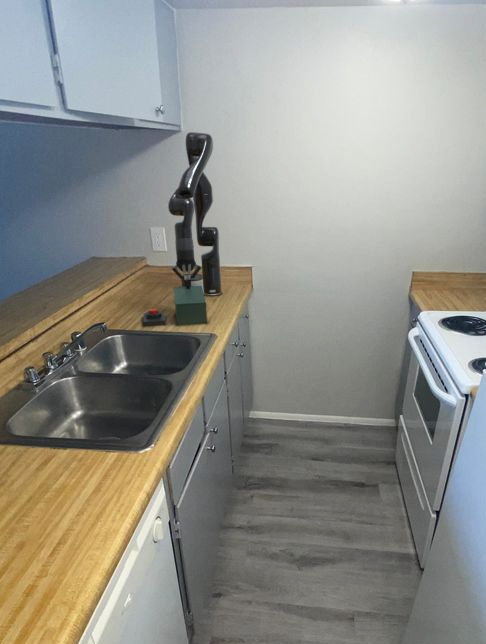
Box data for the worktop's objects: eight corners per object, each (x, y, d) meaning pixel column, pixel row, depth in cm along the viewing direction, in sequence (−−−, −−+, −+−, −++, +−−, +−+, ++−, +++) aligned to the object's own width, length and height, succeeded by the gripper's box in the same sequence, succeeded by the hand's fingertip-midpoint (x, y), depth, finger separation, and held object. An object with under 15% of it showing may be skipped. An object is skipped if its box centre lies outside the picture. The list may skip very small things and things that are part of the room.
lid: (173, 288, 211) (173, 287, 211) (201, 287, 214) (201, 285, 213) (175, 305, 199) (175, 304, 198) (205, 303, 201) (205, 302, 201)
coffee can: (179, 306, 227) (176, 277, 220) (192, 300, 235) (190, 272, 228) (195, 309, 222) (193, 280, 216) (209, 304, 230) (207, 275, 224)
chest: (176, 314, 216) (174, 295, 212) (203, 312, 219) (202, 293, 215) (177, 325, 203) (176, 305, 199) (207, 323, 206) (205, 304, 201)
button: (149, 312, 207) (148, 308, 206) (157, 312, 208) (157, 308, 207) (149, 315, 204) (148, 311, 203) (157, 314, 205) (157, 310, 204)
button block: (144, 317, 212) (143, 309, 210) (164, 316, 214) (163, 307, 212) (144, 326, 201) (142, 317, 200) (165, 325, 203) (164, 316, 201)
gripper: (199, 245, 207) (202, 284, 215) (168, 246, 204) (172, 286, 212) (201, 248, 201) (203, 289, 209) (169, 250, 198) (173, 290, 206)
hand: (188, 287), depth 211 cm, fingers closed
